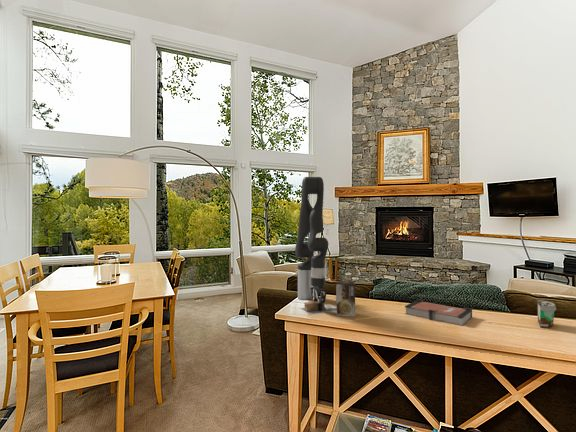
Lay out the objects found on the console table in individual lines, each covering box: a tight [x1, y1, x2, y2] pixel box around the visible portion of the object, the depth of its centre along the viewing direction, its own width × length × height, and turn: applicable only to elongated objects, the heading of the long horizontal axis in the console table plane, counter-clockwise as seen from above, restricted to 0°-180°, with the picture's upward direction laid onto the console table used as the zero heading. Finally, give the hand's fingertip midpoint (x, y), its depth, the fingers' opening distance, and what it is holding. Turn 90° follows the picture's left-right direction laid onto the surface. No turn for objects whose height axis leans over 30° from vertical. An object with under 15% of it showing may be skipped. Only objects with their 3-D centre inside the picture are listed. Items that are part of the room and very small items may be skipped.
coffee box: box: [335, 281, 356, 317], centre depth 164 cm, size 9×6×16 cm
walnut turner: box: [304, 300, 336, 313], centre depth 172 cm, size 16×7×4 cm, turn 112°
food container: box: [537, 299, 557, 329], centre depth 148 cm, size 12×6×10 cm, turn 148°
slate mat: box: [300, 307, 336, 316], centre depth 172 cm, size 12×18×1 cm, turn 112°
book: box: [404, 298, 473, 327], centre depth 163 cm, size 26×18×5 cm
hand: (318, 309), depth 172 cm, fingers open, 4 cm apart
